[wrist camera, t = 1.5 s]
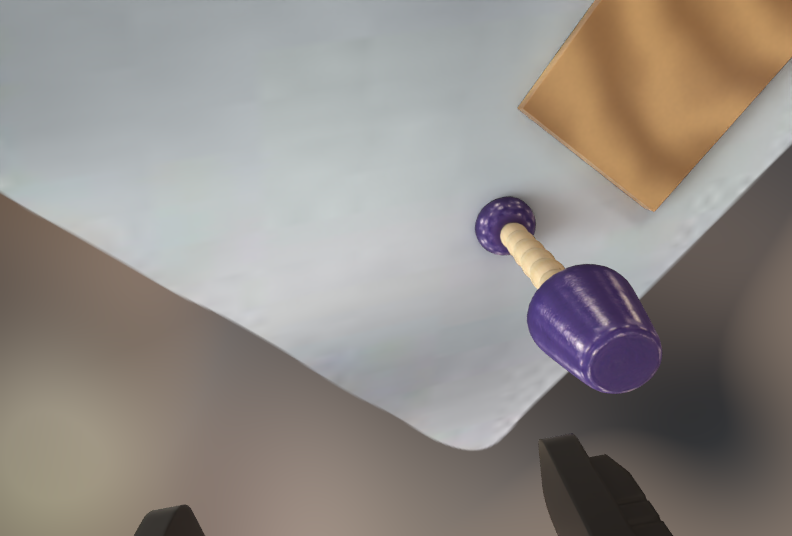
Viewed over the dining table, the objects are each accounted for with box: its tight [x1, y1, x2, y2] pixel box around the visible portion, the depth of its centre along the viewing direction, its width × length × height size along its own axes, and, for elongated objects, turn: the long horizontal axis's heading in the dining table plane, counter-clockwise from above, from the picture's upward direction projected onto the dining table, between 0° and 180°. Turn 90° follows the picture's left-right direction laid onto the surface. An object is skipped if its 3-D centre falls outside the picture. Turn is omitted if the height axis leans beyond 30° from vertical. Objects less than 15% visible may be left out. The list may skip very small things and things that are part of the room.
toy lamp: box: [475, 197, 662, 394], centre depth 23 cm, size 5×5×17 cm
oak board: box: [518, 0, 792, 212], centre depth 26 cm, size 20×12×1 cm, turn 146°
